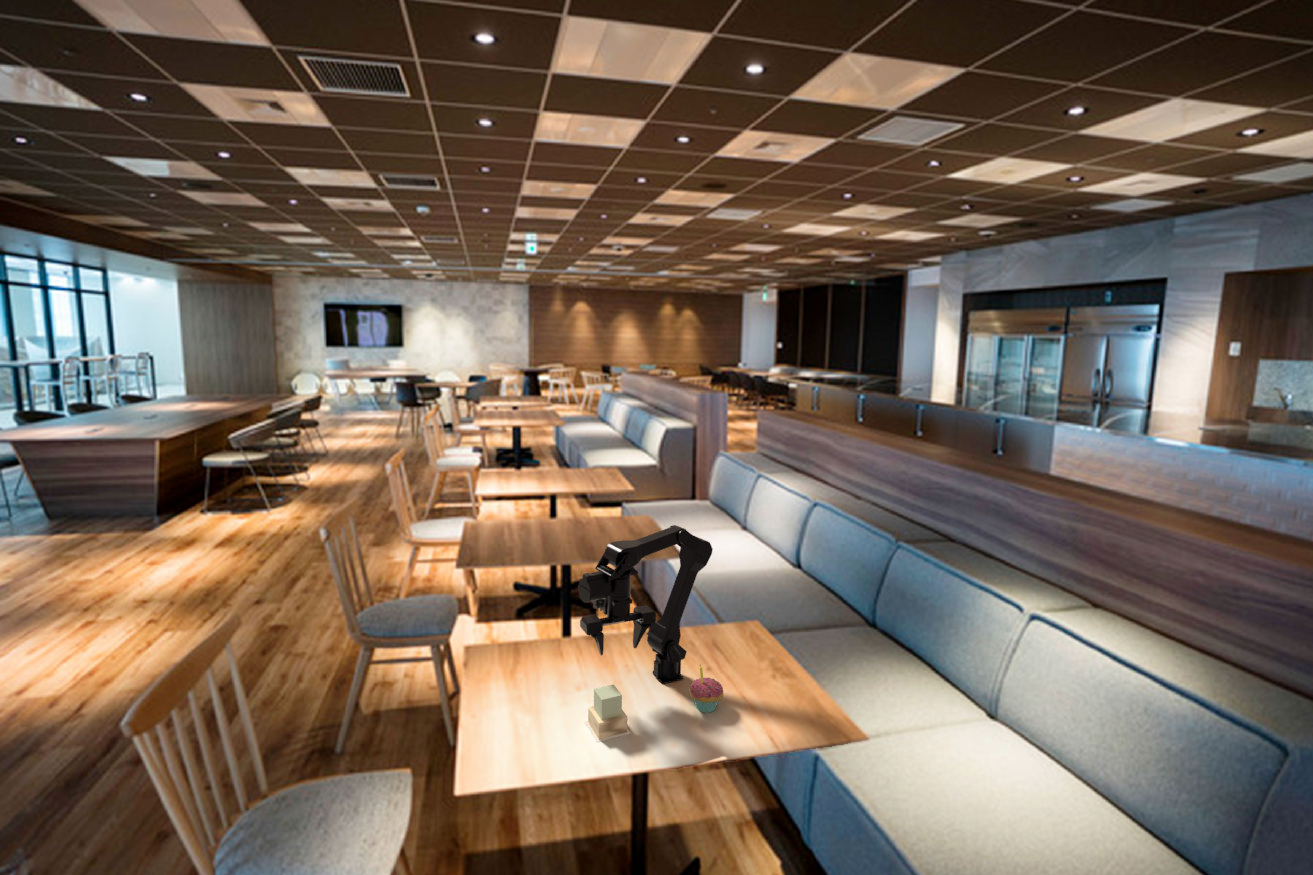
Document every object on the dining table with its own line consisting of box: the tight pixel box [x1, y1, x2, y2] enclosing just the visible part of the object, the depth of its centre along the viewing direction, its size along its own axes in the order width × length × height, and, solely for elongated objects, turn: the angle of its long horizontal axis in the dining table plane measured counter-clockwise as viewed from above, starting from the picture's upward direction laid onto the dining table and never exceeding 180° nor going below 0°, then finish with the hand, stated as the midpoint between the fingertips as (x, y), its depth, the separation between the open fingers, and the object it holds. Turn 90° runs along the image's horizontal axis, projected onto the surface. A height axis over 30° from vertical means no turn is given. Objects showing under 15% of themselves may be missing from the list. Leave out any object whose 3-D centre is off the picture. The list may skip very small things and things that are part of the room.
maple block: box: [587, 705, 628, 739], centre depth 155 cm, size 7×7×4 cm
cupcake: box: [688, 664, 724, 713], centre depth 165 cm, size 9×8×12 cm
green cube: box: [593, 684, 623, 720], centre depth 155 cm, size 5×5×5 cm
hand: (618, 651), depth 169 cm, fingers open, 9 cm apart
